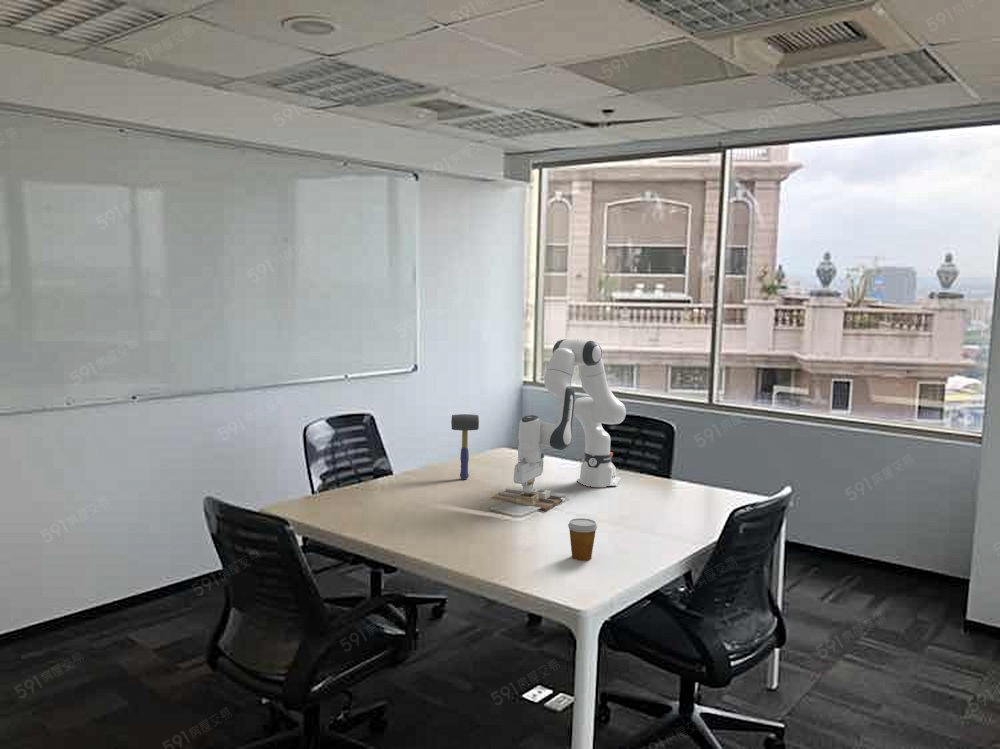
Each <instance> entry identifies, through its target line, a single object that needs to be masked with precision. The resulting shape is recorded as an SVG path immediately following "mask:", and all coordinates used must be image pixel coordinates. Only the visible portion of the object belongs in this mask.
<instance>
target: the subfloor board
mask: <svg viewBox="0 0 1000 749" xmlns="http://www.w3.org/2000/svg"><path fill="white" fill-rule="evenodd" d="M523 492H524V491H523V490H520V489H512V488H506V489H505V490H504V491H498V493H497V494H495V495H493V496H492V497H490V498H488V500H493V501H496V502H497V501H498V502H505V503H509V504H510V503H512V504H517V505H520V504H519V503H516V496H517V495H519V494H521V493H523ZM561 502H562V503H563V498H562V496H560V495H554V494H550V497H549V498H547V499H543V498H539V502H537V503H536V504H534V505H528V507H529V506H530V507H536V508H538V509H537V511H538V510H539V512H545V513H547V512H548V511H550V510H552V509H554V508H556V507H557V506H559V505H561V504H562V503H561ZM560 503H561V504H560ZM558 504H559V505H558ZM523 505H524V506H527V505H526V504H522V506H523ZM555 506H556V507H555Z"/></svg>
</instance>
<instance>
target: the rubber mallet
mask: <svg viewBox="0 0 1000 749" xmlns="http://www.w3.org/2000/svg"><path fill="white" fill-rule="evenodd" d="M479 425H480V420H479V414H470V413H469V414H467V413H465V414H462V413H461V414H459V413H458V414H452V415H451V430H453V431H461V432H462V433H461V449H460V473H459V477H460V479H461V480H463V479H466V480H468V478H469V476H470V475H469V474H470V473H469V457H470V456H469V455H470V454H469V448H468V444H469V443H468V440H469V439H468V436H469V435H468V431H479V429H480V426H479Z"/></svg>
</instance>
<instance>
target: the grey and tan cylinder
mask: <svg viewBox="0 0 1000 749" xmlns="http://www.w3.org/2000/svg"><path fill="white" fill-rule="evenodd" d="M532 483H533V478H532V479H531V480H529V481H528V483H527V487H528V491H527V492H524V496H526V497H532Z"/></svg>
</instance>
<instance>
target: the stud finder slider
mask: <svg viewBox="0 0 1000 749" xmlns="http://www.w3.org/2000/svg"><path fill="white" fill-rule="evenodd" d="M532 493H535V494H540V496H539V498H543V499H547V498H549V497H550V495H551V490H547V489H539V488H533V489H532Z"/></svg>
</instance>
